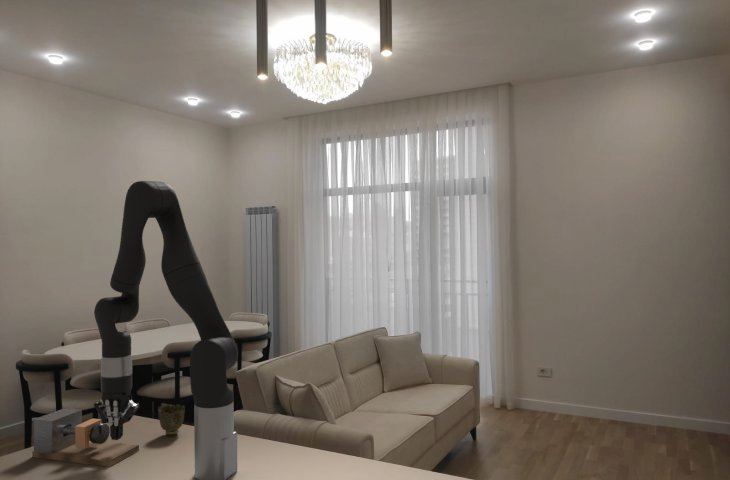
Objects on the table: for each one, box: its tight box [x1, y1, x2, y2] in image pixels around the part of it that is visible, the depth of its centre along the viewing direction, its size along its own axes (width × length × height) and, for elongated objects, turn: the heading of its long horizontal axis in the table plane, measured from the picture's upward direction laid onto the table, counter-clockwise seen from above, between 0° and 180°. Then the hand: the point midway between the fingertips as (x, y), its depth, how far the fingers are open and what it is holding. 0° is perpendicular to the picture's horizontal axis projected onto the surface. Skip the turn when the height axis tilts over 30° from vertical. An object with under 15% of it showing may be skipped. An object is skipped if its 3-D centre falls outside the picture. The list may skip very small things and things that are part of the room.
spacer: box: [75, 418, 103, 449], centre depth 143 cm, size 3×6×6 cm, turn 164°
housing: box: [33, 407, 83, 454], centre depth 146 cm, size 6×10×8 cm, turn 164°
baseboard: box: [31, 440, 140, 468], centre depth 144 cm, size 24×11×2 cm, turn 74°
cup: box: [157, 403, 186, 437], centre depth 158 cm, size 8×7×8 cm
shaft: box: [63, 423, 110, 444], centre depth 144 cm, size 12×5×5 cm, turn 74°
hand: (116, 438), depth 141 cm, fingers closed
